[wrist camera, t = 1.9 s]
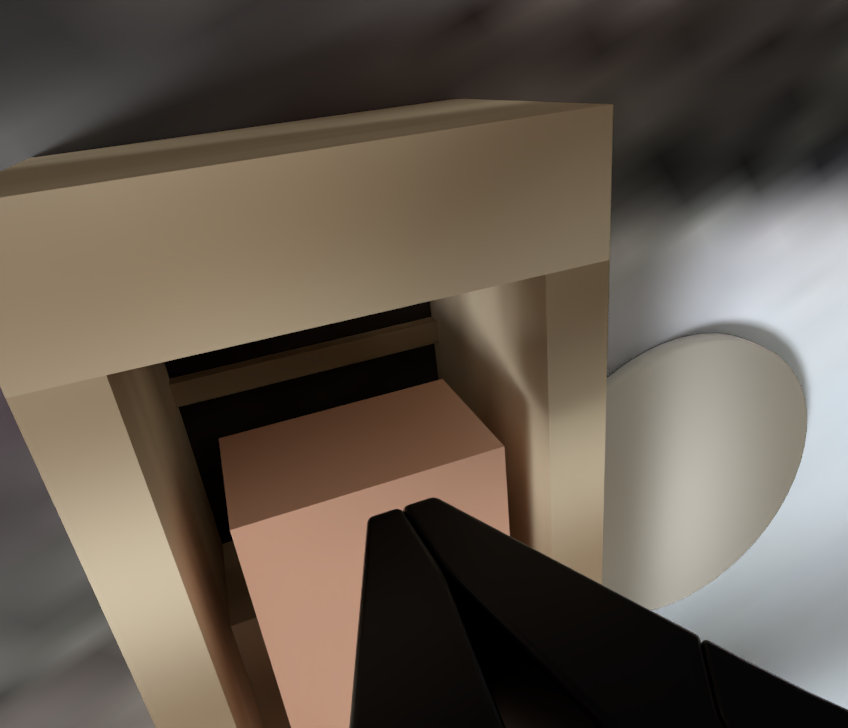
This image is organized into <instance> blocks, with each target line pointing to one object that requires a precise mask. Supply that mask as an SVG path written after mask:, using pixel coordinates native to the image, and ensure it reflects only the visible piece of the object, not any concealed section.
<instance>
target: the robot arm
mask: <svg viewBox="0 0 848 728" xmlns="http://www.w3.org/2000/svg"><path fill="white" fill-rule="evenodd" d="M349 728H848V710H847V709H845V708H843V707H841V706H839V705H836V704H834V703H832V702H830V701H828V700H825V699H823V698H821V697H819V696H817V695H814V694H812V693H810V692H808V691H806V690H804V689H802V688H800V687H798V686H796V685H794V684H792V683H790V682H788V681H786V680H784V679H782V678H780V677H778V676H776V675H774V674H772V673H770V672H768V671H766V670H764V669H762V668H760V667H758V666H756V665H754V664H752V663H750V662H748V661H746V660H744V659H742V658H740V657H738V656H737V655H735V654H733V653H731V652H729V651H727V650H725V649H723V648H721V647H720V646H718V645H716V644H714V643H712V642H710V641H708V640H704V641H702V643H701V641H700V638H699V637H698V635H696V634H694V633H692V632H690V631H689V630H687V629H685V628H683V627H681V626H679V625H677V624H675V623H673V622H672V621H670V620H668V619H666V618H664V617H662V616H660V615H658V614H656V613H655V612H653V611H651V610H649V609H647V608H645V607H643V606H641V605H639V604H637V603H636V602H634V601H632V600H630V599H628V598H626V597H624V596H622V595H620V594H619V593H617V592H615V591H613V590H611V589H609V588H607V587H605V586H603V585H601V584H600V583H598V582H596V581H594V580H592V579H590V578H588V577H586V576H584V575H583V574H581V573H579V572H577V571H575V570H573V569H571V568H569V567H567V566H566V565H564V564H562V563H560V562H558V561H556V560H554V559H552V558H550V557H548V556H547V555H545V554H543V553H541V552H539V551H537V550H535V549H533V548H531V547H530V546H528V545H526V544H524V543H522V542H520V541H518V540H516V539H514V538H512V537H511V536H509V535H507V534H505V533H503V532H501V531H499V530H497V529H495V528H494V527H492V526H490V525H488V524H486V523H484V522H482V521H480V520H478V519H477V518H475V517H473V516H471V515H469V514H467V513H465V512H463V511H461V510H459V509H458V508H456V507H454V506H452V505H450V504H448V503H446V502H444V501H442V500H441V499H438V498H434V497H433V498H428V499H425V500H422V501H419V502H416V503H412V504H409V505H407V506H405V508H404V509H403V511H402V510H400V509H394V510H390V511H387V512H384V513H381V514H378V515H375V516H372V517H370V518H369V519H368V522H367V530H366V542H365V553H364V564H363V576H362V587H361V599H360V610H359V622H358V633H357V645H356V656H355V668H354V679H353V690H352V702H351V713H350V725H349Z"/></svg>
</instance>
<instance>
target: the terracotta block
mask: <svg viewBox="0 0 848 728" xmlns="http://www.w3.org/2000/svg"><path fill="white" fill-rule="evenodd" d="M219 446H220V454H221V462H222V470H223V478H224V487H225V495H226V503H227V511H228V519H229V527H230V532H231V536H232V539H233V542H234V545H235V548H236V552H237V555H238V558H239V561H240V565H241V568H242V571H243V574H244V577H245V581H246V584H247V587H248V590H249V594H250V597H251V600H252V603H253V606H254V610H255V613H256V616H257V619H258V623H259V626H260V629H261V632H262V635H263V639H264V642H265V645H266V648H267V652H268V655H269V658H270V661H271V665H272V668H273V671H274V674H275V677H276V681H277V684H278V687H279V690H280V694H281V697H282V700H283V703H284V706H285V710H286V713H287V716H288V719H289V723H290V726H291V728H349V725H350V713H351V702H352V690H353V679H354V668H355V656H356V645H357V633H358V622H359V610H360V599H361V587H362V576H363V564H364V553H365V542H366V530H367V522H368V519H369V518H370V517H372V516H375V515H378V514H381V513H384V512H387V511H390V510H394V509H400V510H402V511H403V509H404V508H405V506H407V505H409V504H412V503H416V502H419V501H422V500H425V499H428V498H433V497H434V498H438V499H441V500H442V501H444V502H446V503H448V504H450V505H452V506H454V507H456V508H458V509H459V510H461V511H463V512H465V513H467V514H469V515H471V516H473V517H475V518H477V519H478V520H480V521H482V522H484V523H486V524H488V525H490V526H492V527H494V528H495V529H497V530H499V531H501V532H503V533H505V534H507V535H509V536H510V530H509V513H508V496H507V480H506V463H505V446H504V445H503V444H502V443H501V442H500V441H499V440H498V439H497V438H496V437H495V435H494V434H493V433H492V432H491V431H490V430H489V429H488V428H487V427H486V426H485V425H484V423H483V422H482V421H481V420H480V419H479V418H478V417H477V416H476V415H475V414H474V413H473V412H472V410H471V409H470V408H469V407H468V406H467V405H466V404H465V403H464V402H463V401H462V400H461V398H460V397H459V396H458V395H457V394H456V393H455V392H454V391H453V390H452V389H451V388H450V386H449V385H448V384H447V383H446V382H445V381H444V380H443V379H440V380H437V381H433V382H429V383H425V384H422V385H418V386H414V387H410V388H407V389H403V390H399V391H395V392H391V393H388V394H384V395H380V396H376V397H373V398H369V399H365V400H361V401H358V402H354V403H350V404H346V405H343V406H339V407H335V408H331V409H328V410H324V411H320V412H316V413H313V414H309V415H305V416H301V417H297V418H294V419H290V420H286V421H282V422H279V423H275V424H271V425H267V426H264V427H260V428H256V429H252V430H249V431H245V432H241V433H237V434H234V435H230V436H226V437H222V438H219Z"/></svg>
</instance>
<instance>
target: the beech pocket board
mask: <svg viewBox="0 0 848 728" xmlns="http://www.w3.org/2000/svg"><path fill="white" fill-rule="evenodd" d="M612 136H613V104H595V103H567V102H538V101H510V100H482V99H451V100H444V101H437V102H429V103H422V104H415V105H408V106H401V107H393V108H386V109H379V110H372V111H364V112H357V113H350V114H343V115H336V116H328V117H321V118H314V119H307V120H300V121H292V122H285V123H278V124H271V125H264V126H256V127H249V128H242V129H235V130H228V131H220V132H213V133H206V134H199V135H192V136H184V137H177V138H170V139H163V140H156V141H148V142H141V143H134V144H127V145H120V146H112V147H105V148H98V149H91V150H84V151H76V152H69V153H62V154H55V155H48V156H40V157H33V158H28V159H26V160H24V161H22V162H20V163H18V164H15V165H13V166H11V167H9V168H7V169H5V170H3V171H1V172H0V387H1V389H2V391H3V394H4V396H5V398H6V400H7V402H8V404H9V407H10V409H11V411H12V413H13V415H14V418H15V420H16V422H17V424H18V426H19V429H20V431H21V433H22V435H23V437H24V440H25V442H26V444H27V446H28V448H29V450H30V453H31V455H32V457H33V459H34V461H35V464H36V466H37V468H38V470H39V472H40V475H41V477H42V479H43V481H44V483H45V485H46V488H47V490H48V492H49V494H50V496H51V499H52V501H53V503H54V505H55V507H56V510H57V512H58V514H59V516H60V518H61V520H62V523H63V525H64V527H65V529H66V531H67V534H68V536H69V538H70V540H71V542H72V545H73V547H74V549H75V551H76V553H77V556H78V558H79V560H80V562H81V564H82V566H83V569H84V571H85V573H86V575H87V577H88V580H89V582H90V584H91V586H92V588H93V591H94V593H95V595H96V597H97V599H98V601H99V604H100V606H101V608H102V610H103V612H104V615H105V617H106V619H107V621H108V623H109V626H110V628H111V630H112V632H113V634H114V636H115V639H116V641H117V643H118V645H119V647H120V650H121V652H122V654H123V656H124V658H125V661H126V663H127V665H128V667H129V669H130V672H131V674H132V676H133V678H134V680H135V682H136V685H137V687H138V689H139V691H140V693H141V696H142V698H143V700H144V702H145V704H146V707H147V709H148V711H149V713H150V715H151V717H152V720H153V722H154V724H155V726H156V728H291V726H290V723H289V719H288V716H287V713H286V710H285V706H284V703H283V700H282V697H281V694H280V690H279V687H278V684H277V681H276V677H275V674H274V671H273V668H272V665H271V661H270V658H269V655H268V652H267V648H266V645H265V642H264V639H263V635H262V632H261V629H260V626H259V623H258V619H257V616H256V613H255V610H254V606H253V603H252V600H251V597H250V594H249V590H248V587H247V584H246V581H245V577H244V574H243V571H242V568H241V565H240V561H239V558H238V555H237V552H236V548H235V545H234V542H233V541H230V542H227V543H224V544H222V541H221V538H220V535H219V532H218V529H217V526H216V523H215V519H214V516H213V513H212V510H211V507H210V504H209V501H208V498H207V495H206V491H205V488H204V485H203V482H202V479H201V476H200V473H199V470H198V466H197V463H196V460H195V457H194V454H193V451H192V448H191V445H190V442H189V438H188V435H187V432H186V429H185V426H184V423H183V420H182V417H181V413H180V410H179V407H181V406H185V405H189V404H193V403H197V402H201V401H205V400H209V399H213V398H217V397H221V396H225V395H229V394H233V393H237V392H241V391H245V390H249V389H253V388H257V387H261V386H265V385H269V384H273V383H277V382H281V381H285V380H289V379H293V378H297V377H301V376H305V375H309V374H313V373H317V372H321V371H325V370H329V369H333V368H337V367H341V366H345V365H349V364H354V363H358V362H362V361H366V360H370V359H374V358H378V357H382V356H386V355H390V354H394V353H398V352H402V351H406V350H410V349H414V348H418V347H422V346H426V345H430V344H435V353H436V362H437V371H438V380H440V379H443V380H444V381H445V382H446V383H447V384H448V385H449V386H450V388H451V389H452V390H453V391H454V392H455V393H456V394H457V395H458V396H459V397H460V398H461V400H462V401H463V402H464V403H465V404H466V405H467V406H468V407H469V408H470V409H471V410H472V412H473V413H474V414H475V415H476V416H477V417H478V418H479V419H480V420H481V421H482V422H483V423H484V425H485V426H486V427H487V428H488V429H489V430H490V431H491V432H492V433H493V434H494V435H495V437H496V438H497V439H498V440H499V441H500V442H501V443H502V444H503V445H504V446H505V463H506V480H507V496H508V513H509V530H510V536H511V537H512V538H514V539H516V540H518V541H520V542H522V543H524V544H526V545H528V546H530V547H531V548H533V549H535V550H537V551H539V552H541V553H543V554H545V555H547V556H548V557H550V558H552V559H554V560H556V561H558V562H560V563H562V564H564V565H566V566H567V567H569V568H571V569H573V570H575V571H577V572H579V573H581V574H583V575H584V576H586V577H588V578H590V579H592V580H594V581H596V582H598V583H600V584H601V585H602V557H603V515H604V473H605V431H606V389H607V347H608V305H609V262H610V220H611V178H612ZM428 301H430V307H431V316H432V317H428V318H424V319H420V320H416V321H411V322H407V323H403V324H399V325H394V326H390V327H386V328H382V329H377V330H373V331H369V332H365V333H361V334H356V335H352V336H348V337H344V338H339V339H335V340H331V341H327V342H322V343H318V344H314V345H310V346H306V347H301V348H297V349H293V350H289V351H284V352H280V353H276V354H272V355H267V356H263V357H259V358H255V359H251V360H246V361H242V362H238V363H234V364H229V365H225V366H221V367H217V368H212V369H208V370H204V371H200V372H196V373H191V374H187V375H183V376H179V377H174V378H170V379H169V376H168V373H167V370H166V367H165V364H164V362H166V361H171V360H175V359H179V358H184V357H188V356H192V355H197V354H201V353H206V352H210V351H214V350H219V349H223V348H227V347H232V346H236V345H241V344H245V343H249V342H254V341H258V340H262V339H267V338H271V337H275V336H280V335H284V334H289V333H293V332H297V331H302V330H306V329H310V328H315V327H319V326H323V325H328V324H332V323H337V322H341V321H345V320H350V319H354V318H358V317H363V316H367V315H371V314H376V313H380V312H385V311H389V310H393V309H398V308H402V307H406V306H411V305H415V304H419V303H424V302H428Z"/></svg>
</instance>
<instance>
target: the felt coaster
mask: <svg viewBox="0 0 848 728" xmlns="http://www.w3.org/2000/svg"><path fill="white" fill-rule="evenodd" d="M806 431H807V412H806V404H805V398H804V395H803V391H802V388H801V385H800V383H799V381H798V379H797V377H796V375H795V373H794V372H793V371H792V369H791V368H790V367H789V366H788V364H787V363H786V362H785V361H784V360H783V359H781V358H780V357H779V356H778V355H777V354H775V353H774V352H772V351H770V350H768V349H766V348H764V347H762V346H760V345H758V344H755V343H753V342H751V341H748V340H746V339H743V338H740V337H736V336H733V335H728V334H719V333H708V334H696V335H691V336H686V337H681V338H677V339H675V340H672V341H669V342H666V343H663V344H660V345H658V346H656V347H654V348H652V349H650V350H648V351H646V352H644V353H642V354H640V355H639V356H637V357H636V358H634V359H632V360H631V361H629V362H628V363H626V364H624V365H623V366H622V367H620V368H619V369H618V370H617V371H615V372H614V373H613V374H612V375H610V376H609V377H608V378H607V389H606V431H605V473H604V515H603V557H602V585H603V586H605V587H607V588H609V589H611V590H613V591H615V592H617V593H619V594H620V595H622V596H624V597H626V598H628V599H630V600H632V601H634V602H636V603H637V604H639V605H641V606H643V607H645V608H647V609H649V610H654V609H658V608H661V607H664V606H666V605H669V604H672V603H674V602H676V601H678V600H681V599H683V598H685V597H687V596H689V595H691V594H692V593H694V592H696V591H698V590H699V589H701V588H703V587H704V586H706V585H707V584H709V583H710V582H711V581H713V580H714V579H716V578H717V577H718V576H720V575H721V574H722V573H723V572H725V571H726V570H727V569H728V568H729V567H731V566H732V565H733V564H734V563H735V562H736V561H737V560H738V559H739V558H740V557H741V556H742V555H743V554H745V552H746V551H747V550H748V549H749V548H750V547H751V546H752V545H753V544H754V543H755V542H756V540H757V539H758V538H759V537H760V535H761V534H762V533H763V532H764V530H765V529H766V528H767V526H768V525H769V524H770V522H771V521H772V519H773V518H774V516H775V515H776V513H777V512H778V510H779V509H780V507H781V505H782V503H783V501H784V500H785V498H786V496H787V494H788V492H789V490H790V488H791V485H792V483H793V481H794V479H795V476H796V473H797V471H798V468H799V465H800V462H801V458H802V454H803V450H804V446H805V438H806Z"/></svg>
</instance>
